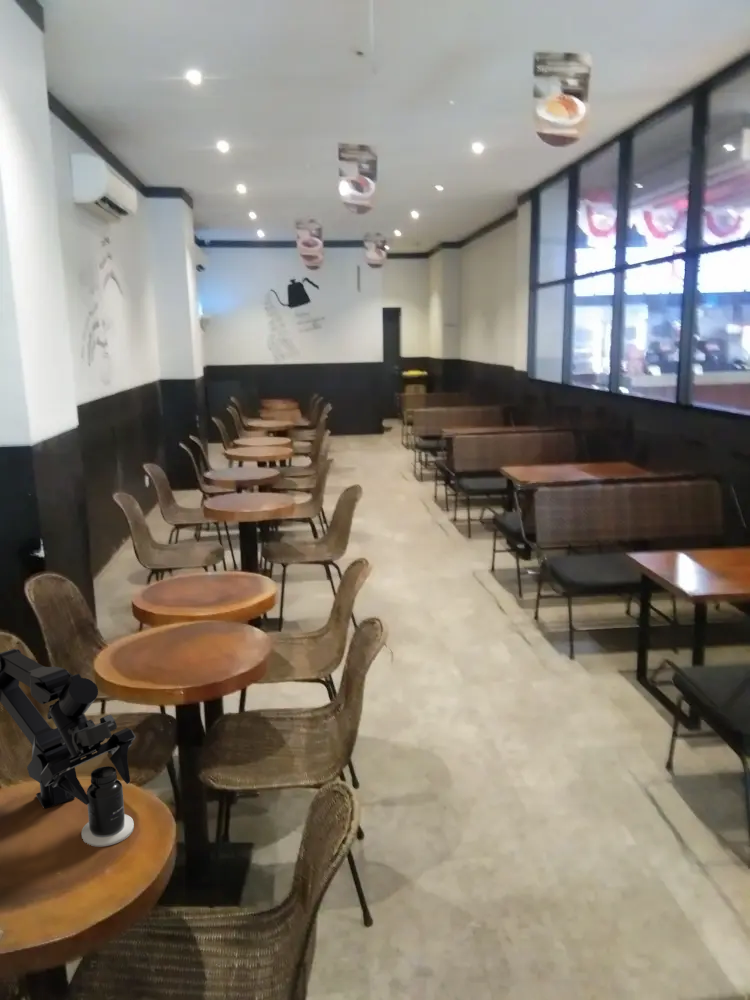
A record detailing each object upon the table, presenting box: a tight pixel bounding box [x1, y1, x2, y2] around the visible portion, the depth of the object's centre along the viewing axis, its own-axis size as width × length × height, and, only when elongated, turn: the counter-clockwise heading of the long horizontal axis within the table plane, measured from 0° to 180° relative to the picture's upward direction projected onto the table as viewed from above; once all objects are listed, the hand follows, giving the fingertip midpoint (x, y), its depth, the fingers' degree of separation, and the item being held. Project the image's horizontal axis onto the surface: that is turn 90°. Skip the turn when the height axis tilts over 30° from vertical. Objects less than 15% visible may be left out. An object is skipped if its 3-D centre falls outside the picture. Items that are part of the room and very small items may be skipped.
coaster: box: [81, 813, 135, 848], centre depth 157 cm, size 10×10×1 cm
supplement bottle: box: [86, 765, 125, 836], centre depth 156 cm, size 7×7×12 cm
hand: (108, 793), depth 155 cm, fingers open, 9 cm apart
